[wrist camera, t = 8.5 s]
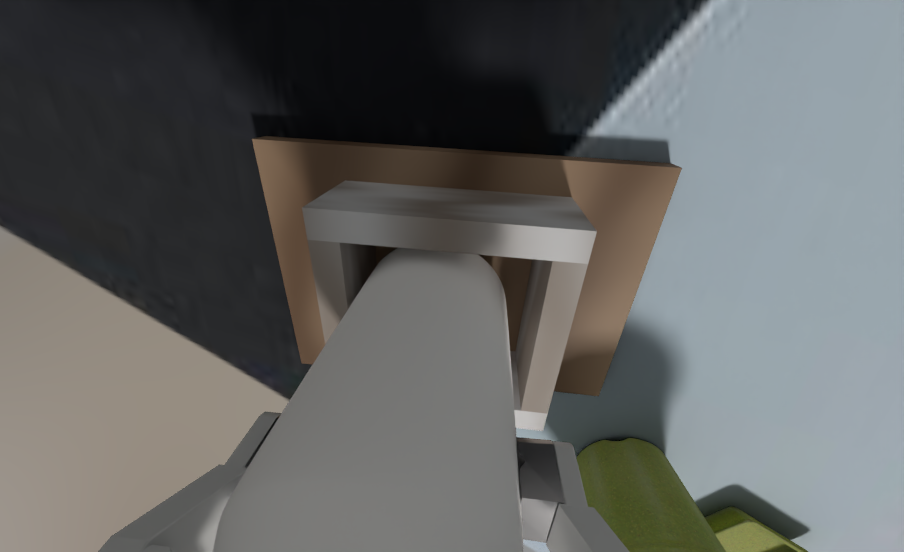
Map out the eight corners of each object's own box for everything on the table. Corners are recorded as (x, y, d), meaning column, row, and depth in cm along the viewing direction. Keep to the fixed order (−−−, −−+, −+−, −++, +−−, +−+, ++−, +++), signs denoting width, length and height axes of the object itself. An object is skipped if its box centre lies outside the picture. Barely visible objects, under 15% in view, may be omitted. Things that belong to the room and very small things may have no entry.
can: (400, 209, 14) (156, 539, 4) (533, 275, 15) (626, 690, 5) (353, 318, 17) (146, 667, 7) (466, 368, 18) (434, 744, 8)
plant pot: (523, 472, 26) (537, 632, 18) (605, 397, 21) (668, 568, 14) (626, 515, 27) (678, 681, 19) (723, 452, 22) (842, 637, 15)
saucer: (636, 532, 29) (646, 562, 27) (732, 488, 25) (751, 520, 23) (707, 570, 30) (720, 601, 28) (807, 535, 26) (831, 568, 25)
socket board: (665, 161, 15) (746, 195, 10) (592, 377, 21) (621, 461, 16) (271, 134, 16) (178, 154, 11) (312, 347, 22) (264, 417, 18)
